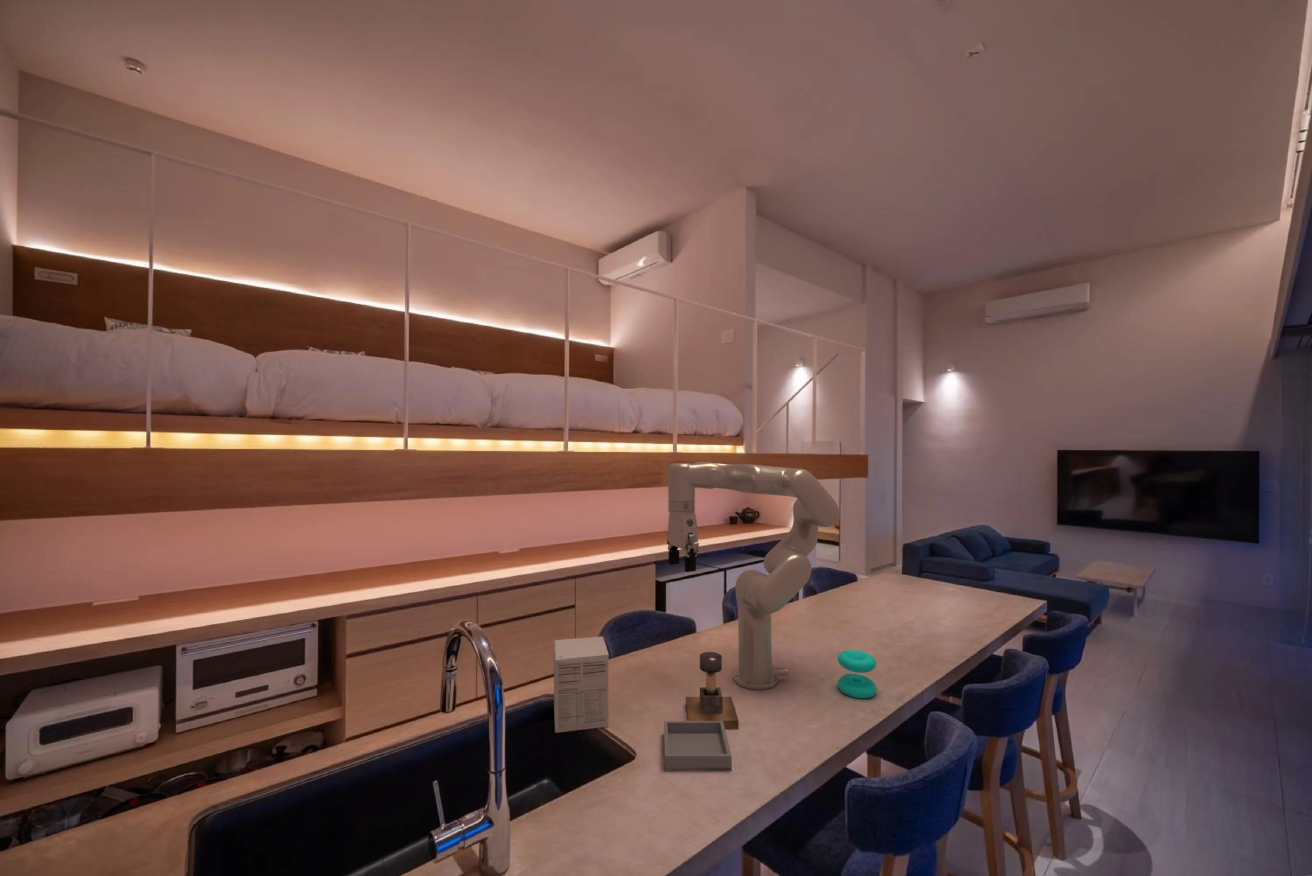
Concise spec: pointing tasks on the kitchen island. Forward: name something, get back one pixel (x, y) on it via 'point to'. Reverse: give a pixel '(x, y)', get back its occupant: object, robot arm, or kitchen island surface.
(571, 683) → the supplement box
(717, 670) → the tan peg with head
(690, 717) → the eye block
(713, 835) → the kitchen island surface
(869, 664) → the donuts
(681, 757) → the tray
